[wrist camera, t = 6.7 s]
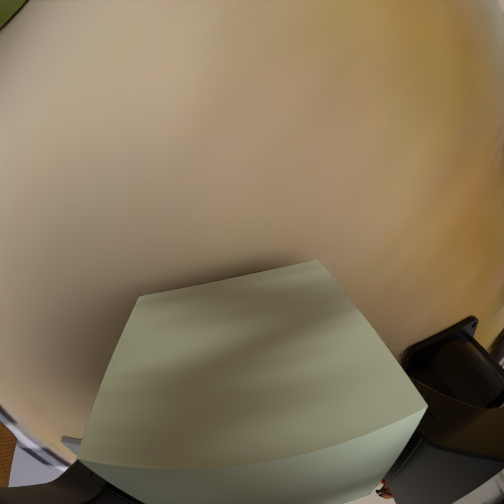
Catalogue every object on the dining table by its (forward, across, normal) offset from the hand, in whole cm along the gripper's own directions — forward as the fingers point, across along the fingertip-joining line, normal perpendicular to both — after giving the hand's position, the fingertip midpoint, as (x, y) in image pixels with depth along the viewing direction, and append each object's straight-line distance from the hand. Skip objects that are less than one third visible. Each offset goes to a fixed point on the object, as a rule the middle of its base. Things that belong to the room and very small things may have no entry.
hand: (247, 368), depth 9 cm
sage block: (+1, 0, 0) cm, 1 cm away
